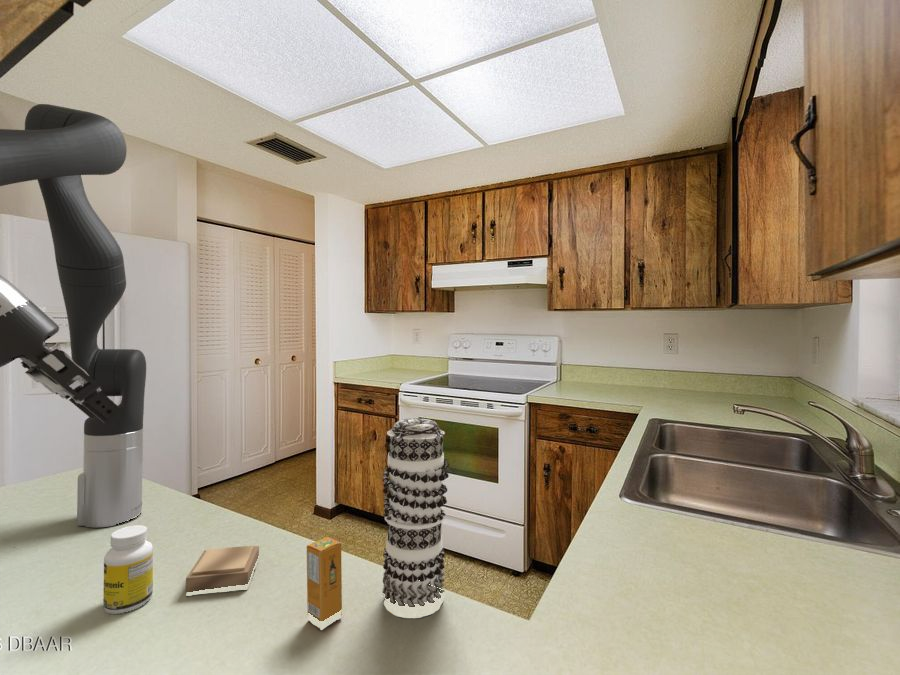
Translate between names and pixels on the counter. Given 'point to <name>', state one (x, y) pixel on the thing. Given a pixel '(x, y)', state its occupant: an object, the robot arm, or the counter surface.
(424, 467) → the decorative candle
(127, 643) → the counter surface
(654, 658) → the counter surface
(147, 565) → the supplement bottle
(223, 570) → the stand
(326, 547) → the supplement box
